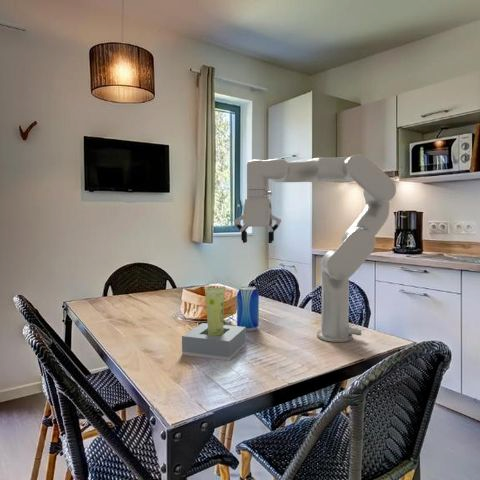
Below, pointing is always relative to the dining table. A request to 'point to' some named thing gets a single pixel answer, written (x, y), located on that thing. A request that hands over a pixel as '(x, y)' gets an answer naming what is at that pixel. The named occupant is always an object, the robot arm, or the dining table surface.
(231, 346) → the well
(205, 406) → the dining table surface
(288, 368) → the dining table surface
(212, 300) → the tube
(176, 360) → the dining table surface
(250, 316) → the beer can
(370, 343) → the dining table surface
